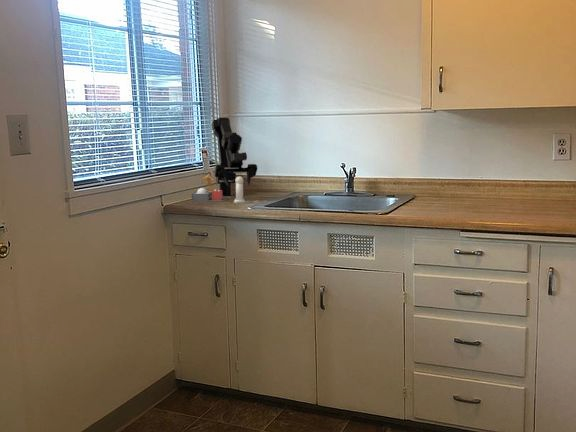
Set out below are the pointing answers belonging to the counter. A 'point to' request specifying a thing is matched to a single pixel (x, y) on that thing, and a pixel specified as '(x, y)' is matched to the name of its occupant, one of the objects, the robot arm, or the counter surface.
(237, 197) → the pawn
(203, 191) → the dome
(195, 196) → the popper base
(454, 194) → the counter surface
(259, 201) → the track board
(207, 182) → the figurine
